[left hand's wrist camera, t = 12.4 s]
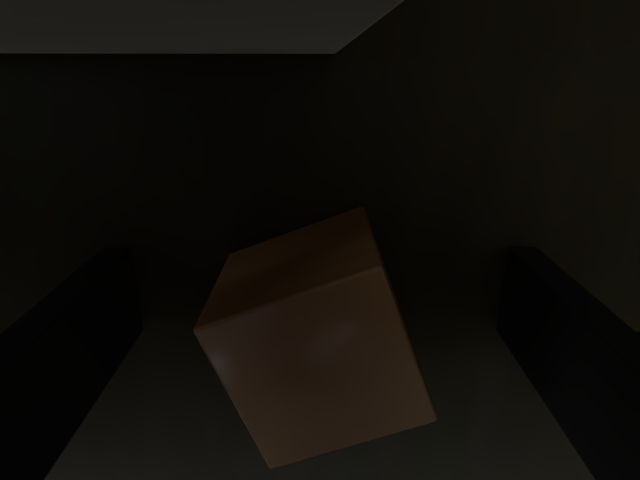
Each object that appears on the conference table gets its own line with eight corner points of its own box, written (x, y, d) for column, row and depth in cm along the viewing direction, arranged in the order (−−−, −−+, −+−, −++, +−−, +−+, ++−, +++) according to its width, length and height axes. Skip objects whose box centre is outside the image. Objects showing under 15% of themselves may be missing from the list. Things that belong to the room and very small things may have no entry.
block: (362, 204, 13) (382, 264, 9) (406, 324, 14) (439, 422, 10) (228, 253, 13) (190, 330, 9) (282, 364, 15) (269, 471, 11)
